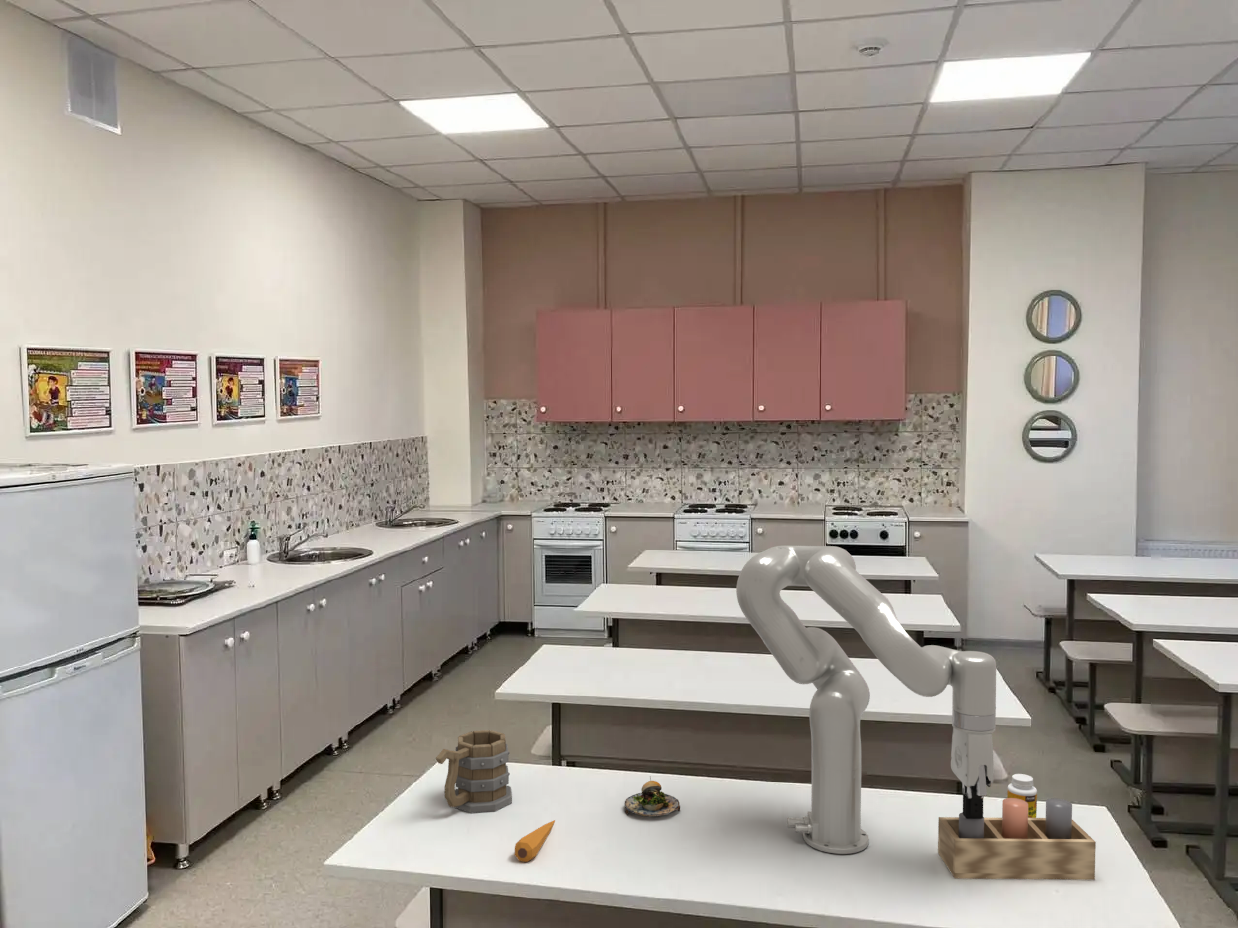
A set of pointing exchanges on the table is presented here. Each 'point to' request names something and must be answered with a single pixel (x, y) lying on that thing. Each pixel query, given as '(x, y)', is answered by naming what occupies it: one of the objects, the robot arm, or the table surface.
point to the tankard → (478, 772)
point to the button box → (1016, 853)
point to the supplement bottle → (1024, 792)
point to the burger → (651, 801)
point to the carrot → (532, 843)
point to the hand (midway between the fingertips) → (972, 816)
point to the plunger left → (971, 827)
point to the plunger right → (1058, 819)
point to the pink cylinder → (1014, 819)
